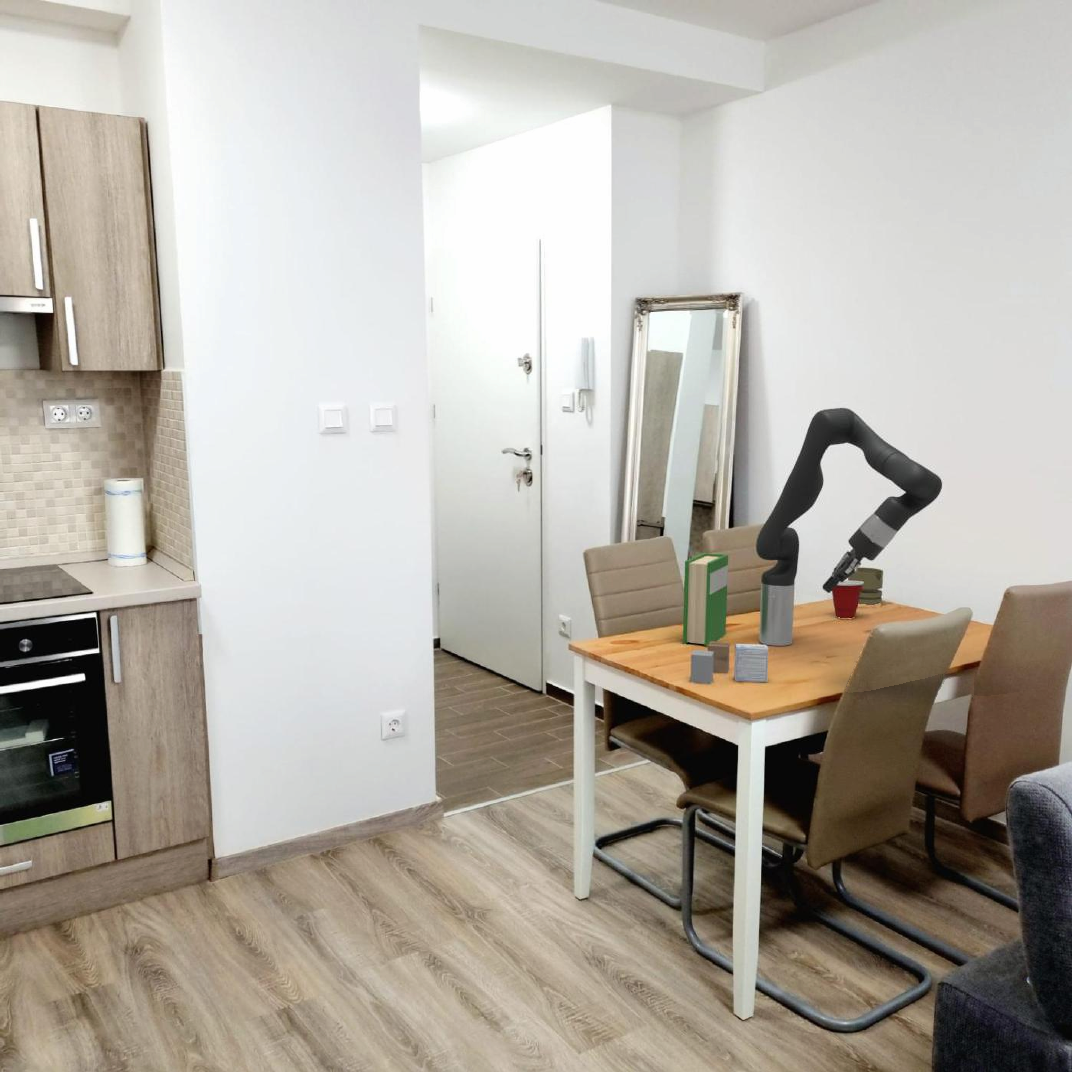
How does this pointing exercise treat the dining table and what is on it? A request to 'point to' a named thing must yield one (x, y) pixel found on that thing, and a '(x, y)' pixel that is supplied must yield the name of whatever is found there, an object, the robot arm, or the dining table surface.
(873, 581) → the piston
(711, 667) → the slate grey block
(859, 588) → the plastic cup
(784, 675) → the dining table surface
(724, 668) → the walnut block
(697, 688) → the dining table surface
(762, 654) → the medicine box
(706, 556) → the hardback book
